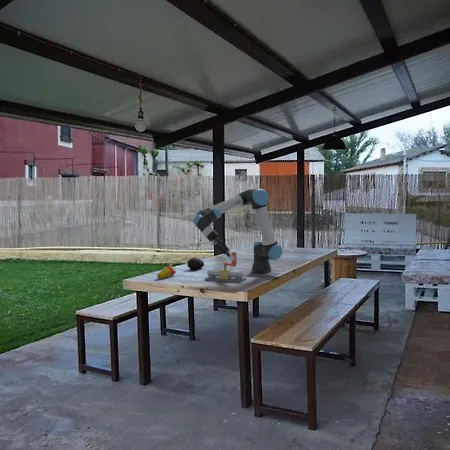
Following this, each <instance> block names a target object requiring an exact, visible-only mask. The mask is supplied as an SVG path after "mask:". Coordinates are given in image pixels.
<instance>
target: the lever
mask: <svg viewBox="0 0 450 450" xmlns="http://www.w3.org/2000/svg"><path fill="white" fill-rule="evenodd" d="M231 254H232V255H233V256H234V257H235V259H234V260H233V261H231V262H227V261H223V262H222V265H223V266H224V265H227V266H228V267H237V263H238V262H237V252H236V251H232V252H231Z"/></svg>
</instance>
